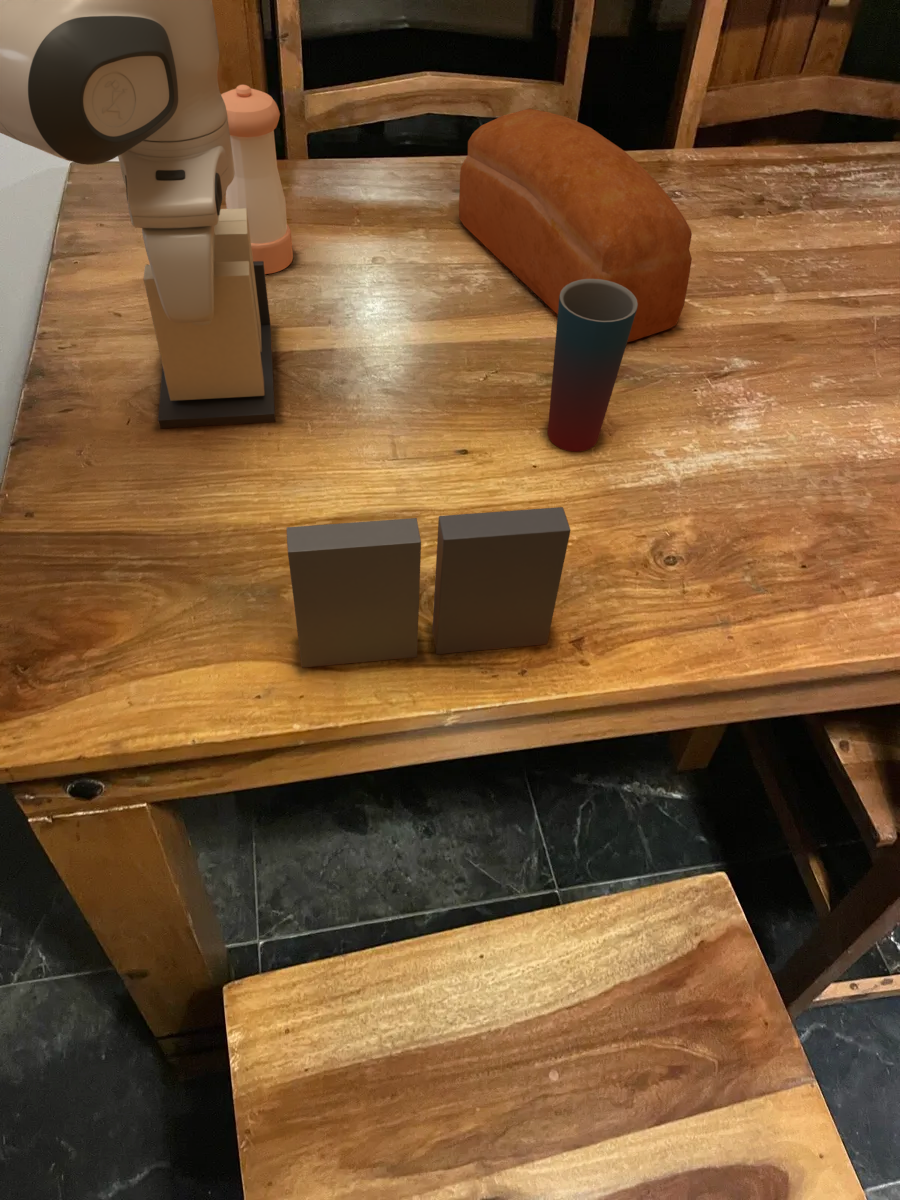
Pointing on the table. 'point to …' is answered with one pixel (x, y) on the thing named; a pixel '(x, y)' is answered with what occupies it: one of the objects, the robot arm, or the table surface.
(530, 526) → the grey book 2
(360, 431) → the table surface
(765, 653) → the table surface
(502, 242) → the bread
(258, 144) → the pepper shaker
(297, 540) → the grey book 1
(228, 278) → the brown flat block
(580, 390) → the cup
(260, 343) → the book rack
